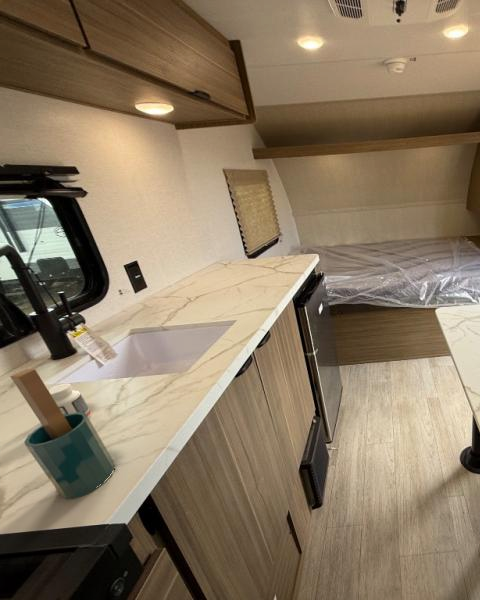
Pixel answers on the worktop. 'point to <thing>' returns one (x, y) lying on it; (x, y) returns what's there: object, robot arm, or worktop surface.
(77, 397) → the pill bottle
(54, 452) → the teal handleless cup
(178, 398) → the worktop surface
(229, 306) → the worktop surface
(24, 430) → the worktop surface
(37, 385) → the brush
